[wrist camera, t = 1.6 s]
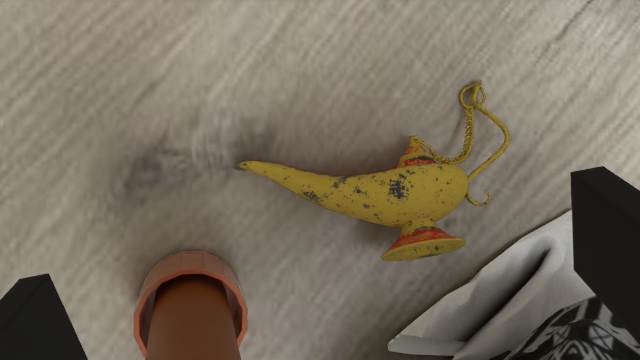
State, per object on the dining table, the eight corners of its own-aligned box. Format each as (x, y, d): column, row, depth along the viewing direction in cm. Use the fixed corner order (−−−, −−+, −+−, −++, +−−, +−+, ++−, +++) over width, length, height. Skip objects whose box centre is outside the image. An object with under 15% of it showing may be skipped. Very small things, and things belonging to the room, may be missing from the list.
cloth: (711, 236, 43) (739, 243, 41) (667, 395, 45) (692, 410, 42) (422, 181, 36) (437, 186, 34) (379, 371, 38) (391, 388, 35)
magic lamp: (246, 284, 34) (230, 126, 37) (515, 248, 36) (475, 102, 40) (241, 263, 27) (221, 75, 31) (567, 221, 30) (514, 50, 33)
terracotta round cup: (123, 326, 33) (115, 355, 29) (164, 235, 33) (161, 253, 29) (216, 356, 35) (220, 387, 31) (255, 269, 35) (264, 290, 31)
